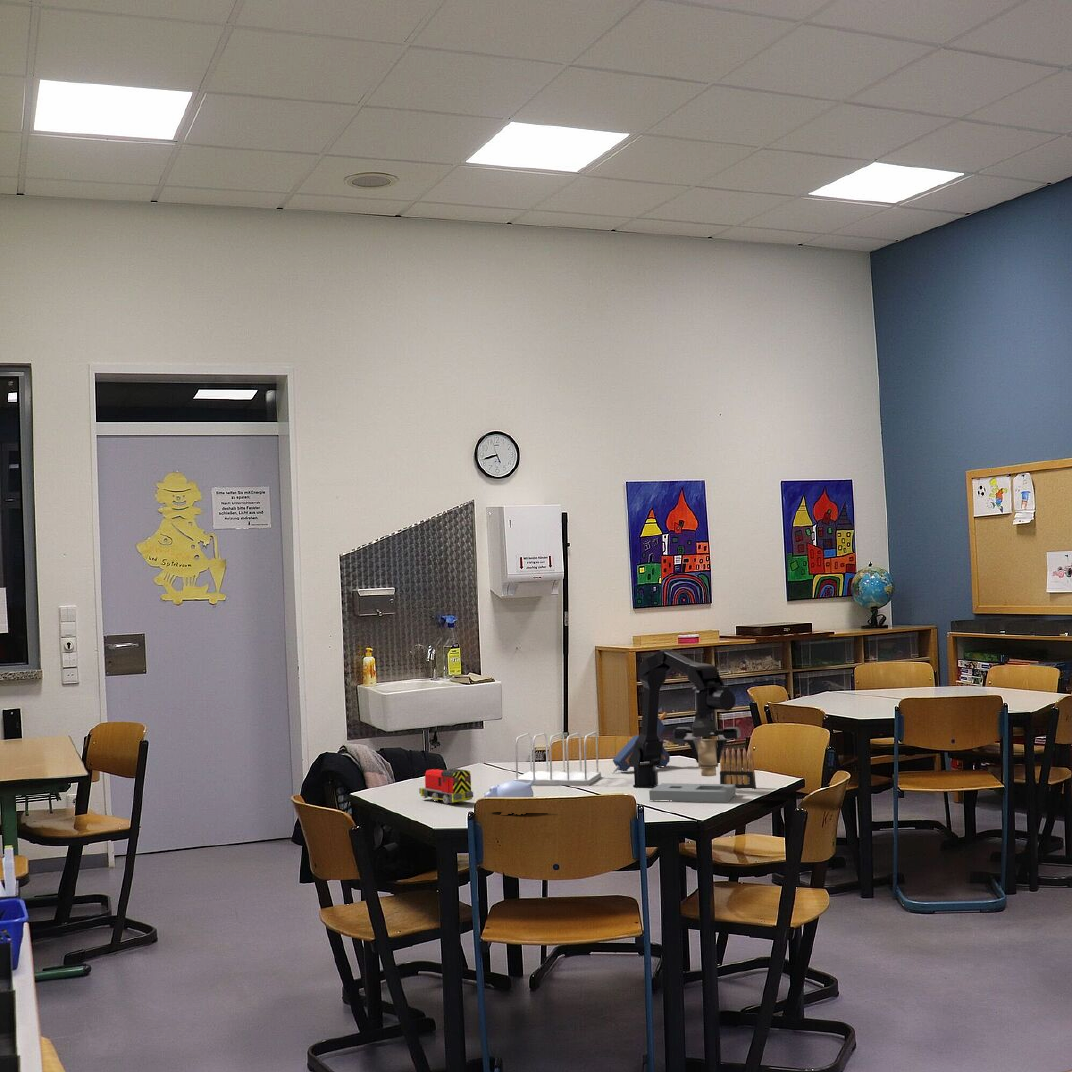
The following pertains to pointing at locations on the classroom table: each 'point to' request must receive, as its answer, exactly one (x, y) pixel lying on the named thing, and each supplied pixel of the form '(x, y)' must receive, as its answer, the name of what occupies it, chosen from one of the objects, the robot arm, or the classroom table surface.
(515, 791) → the hippopotamus toy
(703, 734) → the robot arm
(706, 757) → the beech peg
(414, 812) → the classroom table surface
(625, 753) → the glue gun
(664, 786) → the two-hole board
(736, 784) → the ammunition clip
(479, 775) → the classroom table surface
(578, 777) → the file sorter
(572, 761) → the classroom table surface
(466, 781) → the toy train
